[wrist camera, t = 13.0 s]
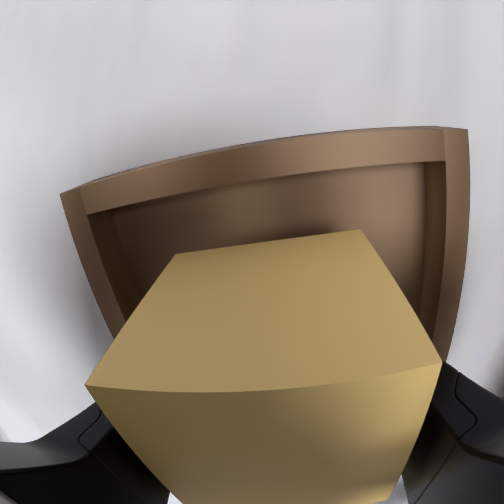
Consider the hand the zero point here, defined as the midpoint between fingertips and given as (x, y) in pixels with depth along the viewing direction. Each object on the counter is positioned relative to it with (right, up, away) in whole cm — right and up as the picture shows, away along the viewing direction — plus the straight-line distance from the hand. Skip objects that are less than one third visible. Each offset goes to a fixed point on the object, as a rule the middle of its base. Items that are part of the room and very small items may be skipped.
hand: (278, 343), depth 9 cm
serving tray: (+1, -2, +5) cm, 6 cm away
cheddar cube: (0, +1, +1) cm, 1 cm away
